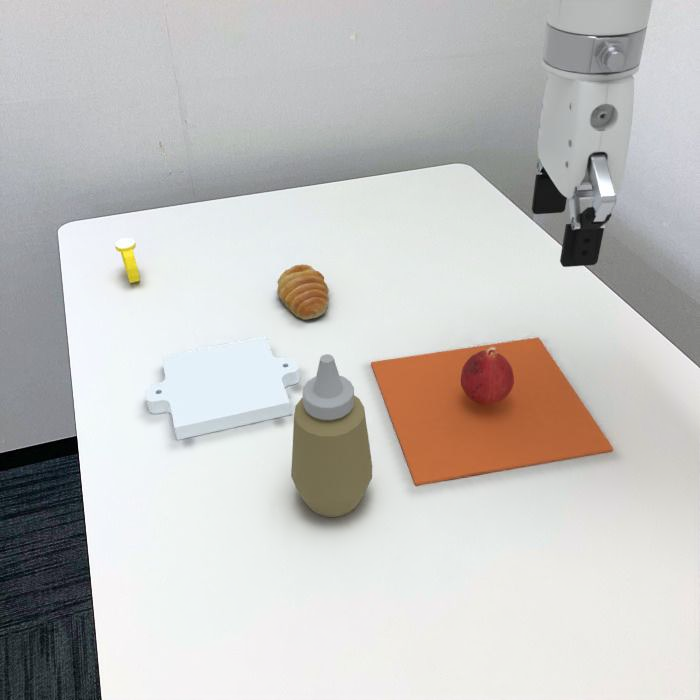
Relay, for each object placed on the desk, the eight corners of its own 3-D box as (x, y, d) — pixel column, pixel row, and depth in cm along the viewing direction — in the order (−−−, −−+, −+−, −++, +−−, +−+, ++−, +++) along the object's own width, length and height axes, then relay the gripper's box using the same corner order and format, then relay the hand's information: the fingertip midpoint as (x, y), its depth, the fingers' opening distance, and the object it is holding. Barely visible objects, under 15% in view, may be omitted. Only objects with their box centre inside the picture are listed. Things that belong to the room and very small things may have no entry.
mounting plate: (286, 343, 95) (285, 332, 93) (312, 409, 85) (311, 397, 84) (143, 372, 91) (140, 360, 89) (154, 445, 81) (150, 432, 80)
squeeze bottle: (283, 519, 73) (267, 381, 61) (306, 459, 79) (295, 325, 68) (362, 534, 71) (361, 396, 60) (380, 472, 77) (382, 336, 66)
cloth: (538, 339, 94) (538, 337, 94) (612, 451, 79) (613, 448, 79) (371, 364, 91) (370, 361, 91) (415, 485, 76) (415, 483, 76)
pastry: (339, 317, 99) (338, 293, 96) (290, 327, 97) (288, 304, 95) (319, 280, 106) (318, 258, 103) (274, 290, 104) (271, 267, 102)
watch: (120, 269, 109) (111, 234, 105) (139, 265, 110) (130, 230, 106) (127, 290, 105) (118, 254, 101) (146, 286, 106) (138, 250, 102)
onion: (470, 424, 82) (476, 369, 77) (450, 391, 86) (455, 337, 81) (518, 414, 83) (527, 359, 78) (496, 381, 88) (504, 328, 83)
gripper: (684, 81, 52) (635, 285, 62) (603, 16, 65) (574, 192, 76) (579, 87, 52) (547, 291, 62) (519, 20, 65) (501, 197, 76)
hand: (562, 236), depth 69 cm, fingers open, 9 cm apart
